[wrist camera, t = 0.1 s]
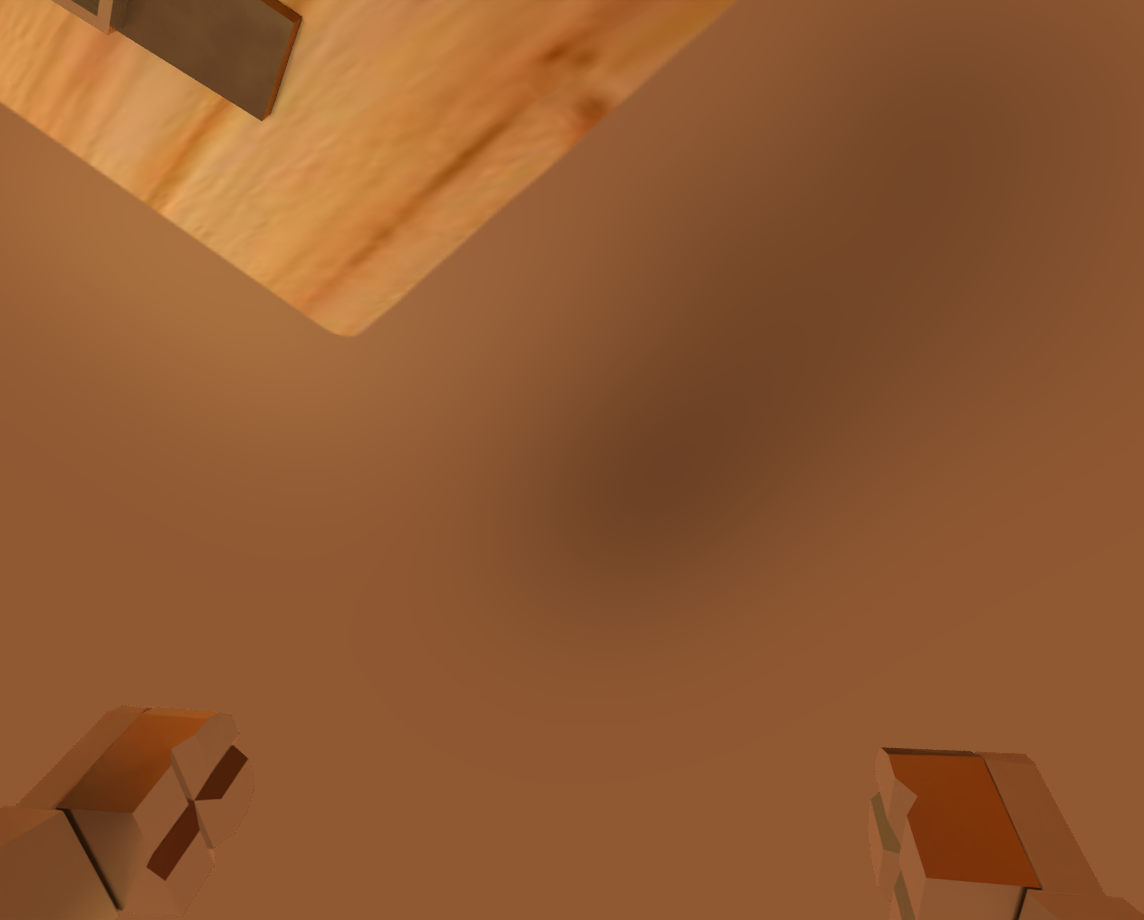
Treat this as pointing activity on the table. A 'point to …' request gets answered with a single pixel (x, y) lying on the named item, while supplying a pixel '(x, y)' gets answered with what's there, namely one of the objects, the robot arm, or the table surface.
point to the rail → (208, 41)
